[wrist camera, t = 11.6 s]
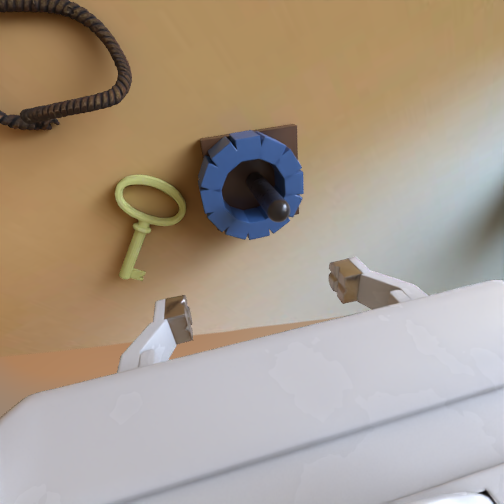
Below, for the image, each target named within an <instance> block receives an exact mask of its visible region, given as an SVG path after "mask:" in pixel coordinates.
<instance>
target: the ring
mask: <svg viewBox="0 0 504 504" xmlns="http://www.w3.org/2000/svg"><path fill="white" fill-rule="evenodd" d="M229 137H230V141H229V140H228V139H227V138H226V137H225V136H224V137H223V138H222V139H221V140H220V141H218V142H217V143H216V144H215V145H214V146H213V147H212V148H210V149H209V150H208V153H209V155H210V157H209V156H206V155H205V156H204V159H203V162H202V165H201V168H200V172H199V175H198V178H199V180H198V185H199V189H200V194H201V198H202V203H203V207H204V212H205V213H206V214H207V218H208V219H209V220H210V221H211V222H212V223H213V224H214V225H215V226H216V227H217V228H218V229H219V230H220V231H221V232H223V231H225V234H226V235H230V236H233V237H237V238H241V239H244V240H245V239H246V237H247V236H248V238H249V240H251V239H256V238H261V237H265V236H269V235H270V234H269V229H270V230H271V232H272V233H273V234H274V233H275V232H276V231H278V230H279V229H280V228H281V227H283V226H284V225H285V224H287V223H288V222H289V221H290V220H289V218H287V219H286V220H285V221H283V222H274V221H272V220H271V219H270V218H269V217H268V216H267V214H266V213H265V211H264V210H263V208H262V207H261V205H260V206H258V207H257V208H252V209H247V210H241V209H237V208H234V207H231V206H229V205H228V204H227V203H226V201H225V200H224V199H223V197H222V191H221V190H222V187H223V184H224V182H225V179H226V176H227V174H228V173H229V172H230V171H231V170H232V169H234V168H235V167H236V166H237V165H238V164H239V163H241V162H243V161H249V160H255V159H261V160H264V161H266V162H269V163H270V165H271V166H272V167H273V169H274V176H275V186H274V189H275V190H276V191H277V192H278V193H279V194H280V195H281V196H282V197H283V198H284V199H285V200H286V202H287V203H288V204H289V206H290V215H289V216H290V217H293V216H294V214H295V212H296V210H297V208H298V206H299V204H300V202H301V200H302V197H301V196H300V195H299V194H303V193H304V192H303V172H302V171H301V170H300V169H301V168H302V167H301V165H300V164H299V162H298V160H297V159H296V157H295V156H294V154H293V152H292V151H291V149H289V148H288V147H286V145H285V144H283V143H281V142H279V141H277V140H276V139H274V138H271V137H269V136H267V135H265V134H262V133H260V132H258V131H256V132H253V131H252V130H249V131H243V132H237V133H231V134H229Z"/></svg>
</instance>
